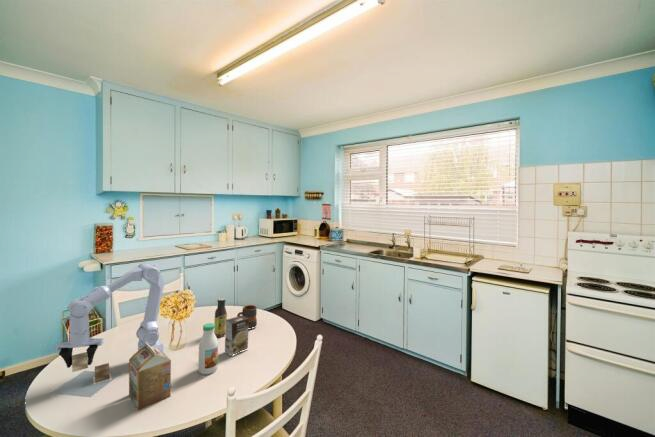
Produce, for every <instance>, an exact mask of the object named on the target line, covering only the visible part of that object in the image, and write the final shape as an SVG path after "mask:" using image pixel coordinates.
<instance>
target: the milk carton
mask: <svg viewBox="0 0 655 437" xmlns="http://www.w3.org/2000/svg"><path fill="white" fill-rule="evenodd" d="M128 361H129V362H128V396H129V397H130V400H131V402H132V404H133V405H134V407H135V409H136V410H137V411H142V410H143V409H145V408H148V407H150V406H153V405H154V404H157V403H159V402H161V401H163V400H166V399H168V398H170V397H171V393H172V392H171V383H172V382H171V381H172V380H171V379H172V376H171V375H172V374H171V372H172V360H171V358H170V357H169V356H167V355H166V354H165V352H164V351H163V352H162V351H161V350H160V349H158V348H156V347H153V346H149V345H148V344H147V342H145V346H144V347H142V348H141V349H140V350H139V351H138V350H137V351H136V352H135V353H134V354H133V355H132V356H131V357H129V359H128Z"/></svg>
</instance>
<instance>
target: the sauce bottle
mask: <svg viewBox="0 0 655 437" xmlns="http://www.w3.org/2000/svg"><path fill="white" fill-rule="evenodd" d="M214 311H215V312H214V323H213V324H214V325H215V328H214V333H215V336H216V338H222V337H225V333H226V320H227V319H228V318H227V317H228V313H227V310H226V298H225V297H219V298H217V308H216V309H215V310H214ZM221 336H222V337H221Z"/></svg>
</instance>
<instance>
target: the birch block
mask: <svg viewBox="0 0 655 437" xmlns="http://www.w3.org/2000/svg"><path fill="white" fill-rule="evenodd" d="M88 368H89V365H88V354H87V351H86V352H81V353H77V354H72V365H71V370H72V373H74V372H78V371H83V370H85V369H88Z"/></svg>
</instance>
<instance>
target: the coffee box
mask: <svg viewBox="0 0 655 437" xmlns="http://www.w3.org/2000/svg"><path fill="white" fill-rule="evenodd" d="M248 328H249V318H247V317H245V316H243V315H240V316H238V317H237V316H235V317H232V318H231V317H230V318H227V320H226V333H225V335H224V337H225V340H224V341H225V342H224V352H227V353H228V354H227V353H226V354H227V355H229V354H231V355H233V354H236V353H238V352H240V351H242V350H245V349H247V348H248V349H249V330H248Z"/></svg>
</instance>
